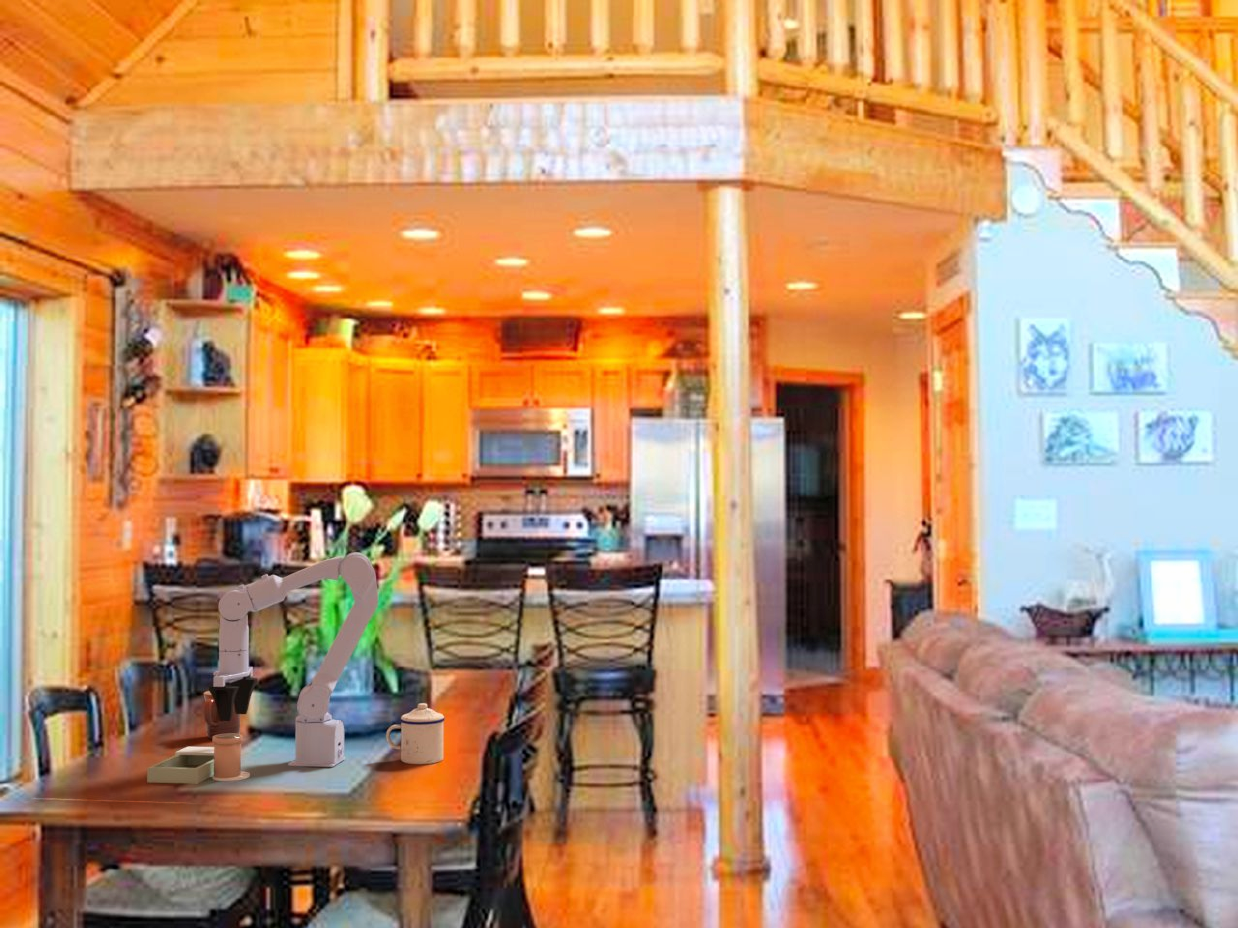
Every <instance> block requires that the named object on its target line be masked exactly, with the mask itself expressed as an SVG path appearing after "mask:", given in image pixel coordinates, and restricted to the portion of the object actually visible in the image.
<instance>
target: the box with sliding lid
mask: <svg viewBox="0 0 1238 928" xmlns="http://www.w3.org/2000/svg"><path fill="white" fill-rule="evenodd" d="M146 770H147V772H146V773H147V774H146V775H147V777H146V783H158V784H159V783H164V784H165V783H166V784H199V783H201V782H203V781H205V780H207V779H210V778H212V776H213V775H214V746H186V747H184V748H182V749H180V750H177V751H175V753H174V755H173V756H171V757H168V758H166V759H164V760H161V761H160V762H157V763H155V764H153V765H151V766H149V767H147V769H146Z"/></svg>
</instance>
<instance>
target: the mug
mask: <svg viewBox="0 0 1238 928" xmlns="http://www.w3.org/2000/svg"><path fill="white" fill-rule="evenodd" d="M203 697H204V700H205V701H204V703H203V716H204V721H205V723H206V724H205V729H206V734H207V735H206V736H207V737H208V739H211V740H213V736H215V735H219V734H228V733H235V734H240V733H241V727H242V725H241V714H236V713H235V708H234V705H233V713H232V718H231V721H220V719H219V716H218V711H217V707H216V704H215V701H214V699H213V696H212V695H211V693H210V691H209V690H207V691H205V692H203Z"/></svg>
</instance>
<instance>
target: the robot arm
mask: <svg viewBox="0 0 1238 928" xmlns="http://www.w3.org/2000/svg"><path fill="white" fill-rule="evenodd" d="M370 560H371V559H370V558H369V557H368V556H367V555H366V554H364V553H362V552H358V551H356V552H350V553H348V554H347V555H345V556H344V555H339V556H335V557H331V558H328V559H324V560H322V561H319V562H317V563H314V564H312V565H310V566H308V567H305V568H303V569H301V570H298V571H296V572H294V573H291V574H289V575H287V576H284V577H280V576H278V575H275V574H271V575H268V574H267V573H266V574H263V575H262V576H260V578H261V579H259V580H256V581H254V582H250V583H249V584H247V585H244V584H241V585H238V590H237V589H234V590H229V591H228V592H226V593H225V594H223V595H222V597H220V599H219V602H218V611H219V613H220V619H219V624H220V627H219V631H218V633H219V634H218V635H219V637H218V639H219V640H218V642H219V643H218V644H219V645H218V646H219V647H218V650H219V651H218V655H219V656H218V658H219V659H218V670H216V671H213V684H211V685H209V686H208V691H210V693H211V695H212V696H213V699H214V701H215V704H216V707H217V711H218V716H219V719H220V721H231V718H232V713H233V705H234V708H235V713H236V714H240V715H247V713H248V710H249V706H250V701H251V698H252V695H253V692H254V689H255V687H256V685H257V684H258V682H259V681H258V678H257V677H253V676H254V673H253V672H254V667H253V666H249V662H250V661H249V658H250V657H249V655H250V654H249V653H250V652H249V651H250V649H249V642H250V641H249V639H250V638H249V637H250V632H249V631H250V628H249V627H250V626H249V623H248V622H249V621H248V620H249V619H248V616H249V615H248V613H249V612H252V613H256V612H258V611H261V610H263V609H266V608H268V607H271V606H273V605H276V604H278V603H281V602H283V601H284V600H285V599H286V596H287V595H288V592H289V593H290V592H291V591H294V590H297V589H299V588H302V587H305V586H307V585H311V584H314V583H317V582H319V581H322V580H325V579H326V580H333V581H339V579H340V576H341V578H342V579H343V581H344V582H345V583H346V585H348V587H349V588H350V593H351V595H352V597H353V601H354V603H353V605H352V607H351V608H350V610H349V612H348V614H347V616H346V618H345V619H344V621H343V623H342V625H341V627H340V628H339V631H338V632H337V634H336V636H335V638H334V640H333V642H332V644H331V646H330V647H329V650H328V652H327V654H325V657H324V658H323V661H322V663H321V664H320V666H319V667H318V670H317V671H316V673H315V674H314V676H313V678H312V680H311V681H310V682H309V684H307V685H306V686H304V687H303V688H302V689H301V691H300V693H299V696H298V699H297V702H296V709H297V712H298V715H297V716H296V717H295V735H294V736H295V737H294V738H295V743H294V744H295V745H294V746H295V754H294V755H295V758H294V760H292V761H290V762H288V763H287V766H291V767H316V768H317V767H326V768H327V767H329V768H333V767H335V766H337V765H338V764H339V763H341V762H342V761H344V760H346V757H345V725H344V723H343V720H339V719H337V720H336V719H334V718H332V717H333V716H332V714H331V713H330V712H329V710H330V700H331V696H332V694H333V692H334V690H335V688H336V686H337V684H338V681H339V680H340V679H339V678H340V677H341V676H342V673H343V671H344V670H345V667H346V665H347V664H348V662H349V661H350V658H351V656H352V654H353V653H354V651H355V649H356V647H357V646H358V643H359V641H360V640H361V637H362V636H363V634H364V632H365V630H366V629H367V626H368V625H369V623H370V621H371V619H372V617H373V615H374V613H375V612H376V610H377V608H378V605H379V601H380V600H379V593H378V591H379V590H378V586H377V584H378V583H377V578H376V577H377V575H376V571H375V568H374V567H373V564H372V562H371V561H370Z"/></svg>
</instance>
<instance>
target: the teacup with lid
mask: <svg viewBox="0 0 1238 928" xmlns="http://www.w3.org/2000/svg"><path fill="white" fill-rule="evenodd" d="M445 719H446V718H445V716H444V714H443V713H440V712H436V711H435V710H433V709H432V708H430V707H429V708H428V703H426V702H423V703H422V702H421V703H418V704H417V708H414V709H412V710H411V711H410V712H408V713H405V714H403V715H401V717H400V719H399V721H400V722H401V723H400V724H393V725H391V726H390V727H389V728H388V729H387V730H386V736H385V737H386V738H385V739H386V740H387V741H386V742H387V743H388V745H389V746H390V747H391V748H393V749H395V750H400V752H401V753H400V759H401V762H403V763H404V764H409V765H431V764H436V763H440V762H441V761H443V760H444V721H445ZM396 729H401V730H400V731H401V735H400V736H401V743H400V745H397V744H395V743H394V742H393V741H392V739H391V732H392V730H396Z"/></svg>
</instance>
